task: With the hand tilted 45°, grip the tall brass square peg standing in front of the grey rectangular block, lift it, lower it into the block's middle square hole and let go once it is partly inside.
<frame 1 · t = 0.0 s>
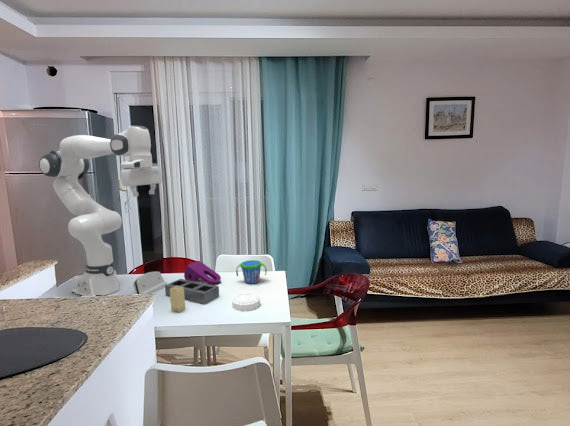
hand: (144, 195, 152), 48 cm above the table, tool pointing down, fingers open, 8 cm apart
mounting bracket: (204, 282, 181), on the table
mooncake: (246, 306, 151), on the table
snack cup: (251, 282, 179), on the table
grey rectangular block: (192, 295, 162), on the table
hinge: (150, 291, 170), on the table
brass peg: (178, 310, 147), on the table
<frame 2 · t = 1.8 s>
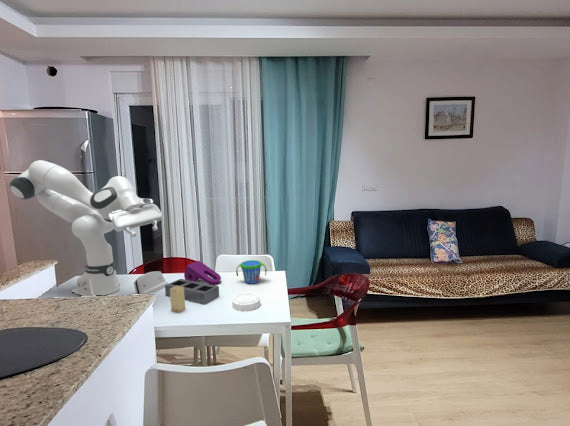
hand: (145, 233, 146), 33 cm above the table, tool tilted 40°, fingers open, 8 cm apart
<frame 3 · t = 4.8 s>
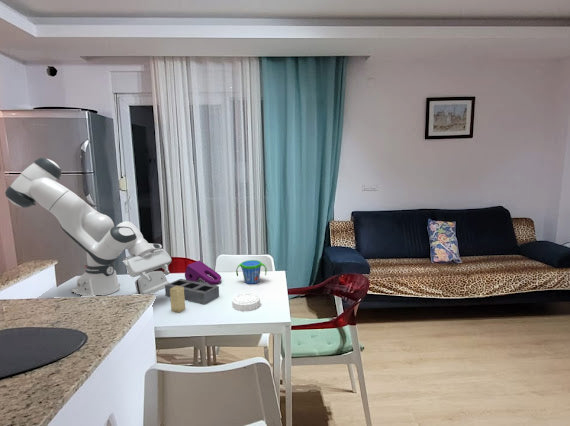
hand: (159, 277, 149), 13 cm above the table, tool tilted 45°, fingers open, 8 cm apart
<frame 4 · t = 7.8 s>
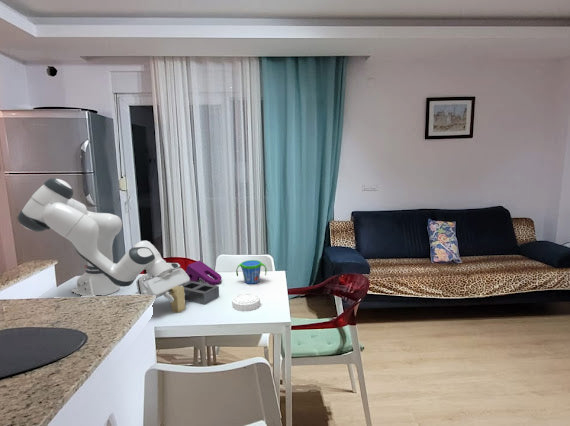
hand: (178, 298, 146), 5 cm above the table, tool tilted 45°, fingers closed on brass peg, 4 cm apart
brass peg: (178, 310, 147), on the table, touching gripper
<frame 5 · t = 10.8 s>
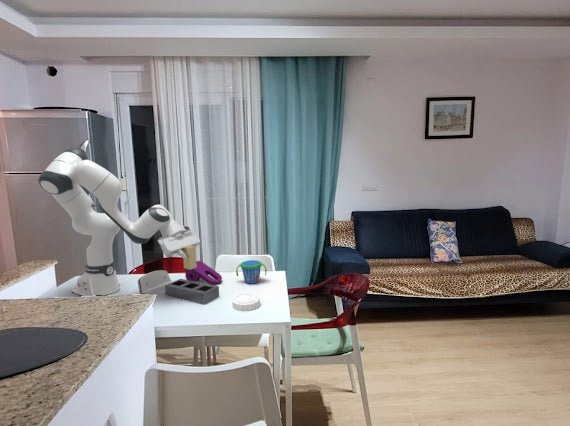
hand: (190, 256, 159), 19 cm above the table, tool tilted 45°, fingers closed on brass peg, 4 cm apart
brass peg: (190, 267, 160), point 14 cm above the table, touching gripper
when the fingers open (8 cm above the table, at t = 14.4 s): brass peg drops 2 cm, resting in grey rectangular block.
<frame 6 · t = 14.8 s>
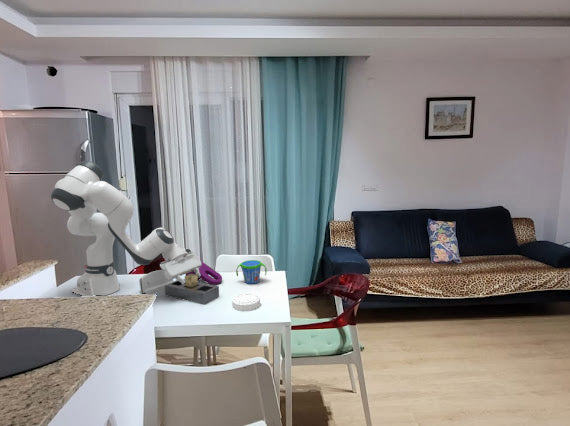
hand: (192, 280, 161), 8 cm above the table, tool tilted 45°, fingers open, 8 cm apart
brass peg: (192, 296, 162), resting in grey rectangular block
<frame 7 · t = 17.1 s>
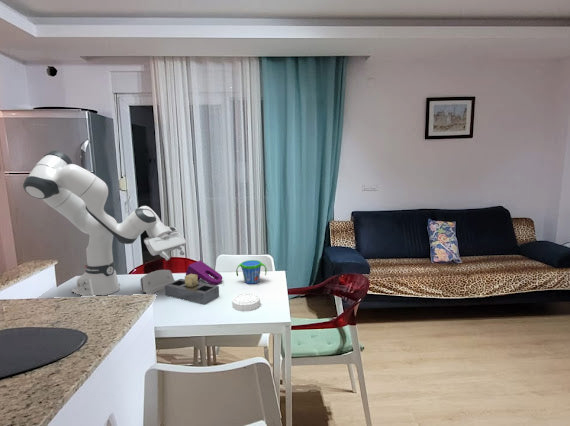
hand: (176, 256, 163), 18 cm above the table, tool tilted 45°, fingers open, 8 cm apart
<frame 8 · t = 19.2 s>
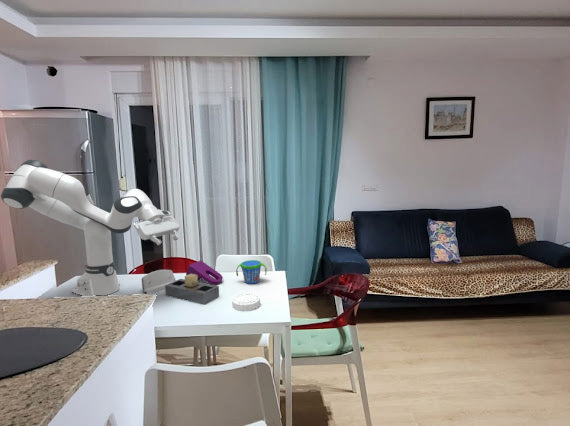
hand: (168, 241, 153), 27 cm above the table, tool tilted 45°, fingers open, 8 cm apart
at the end: brass peg 0.0 cm off-centre on the grey rectangular block, point 0.0 cm above the grey rectangular block's base; brass peg tilted 0°; the gripper is holding nothing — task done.
